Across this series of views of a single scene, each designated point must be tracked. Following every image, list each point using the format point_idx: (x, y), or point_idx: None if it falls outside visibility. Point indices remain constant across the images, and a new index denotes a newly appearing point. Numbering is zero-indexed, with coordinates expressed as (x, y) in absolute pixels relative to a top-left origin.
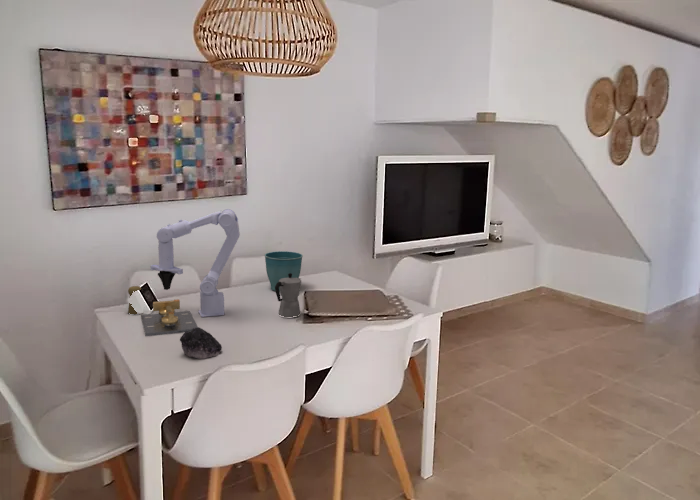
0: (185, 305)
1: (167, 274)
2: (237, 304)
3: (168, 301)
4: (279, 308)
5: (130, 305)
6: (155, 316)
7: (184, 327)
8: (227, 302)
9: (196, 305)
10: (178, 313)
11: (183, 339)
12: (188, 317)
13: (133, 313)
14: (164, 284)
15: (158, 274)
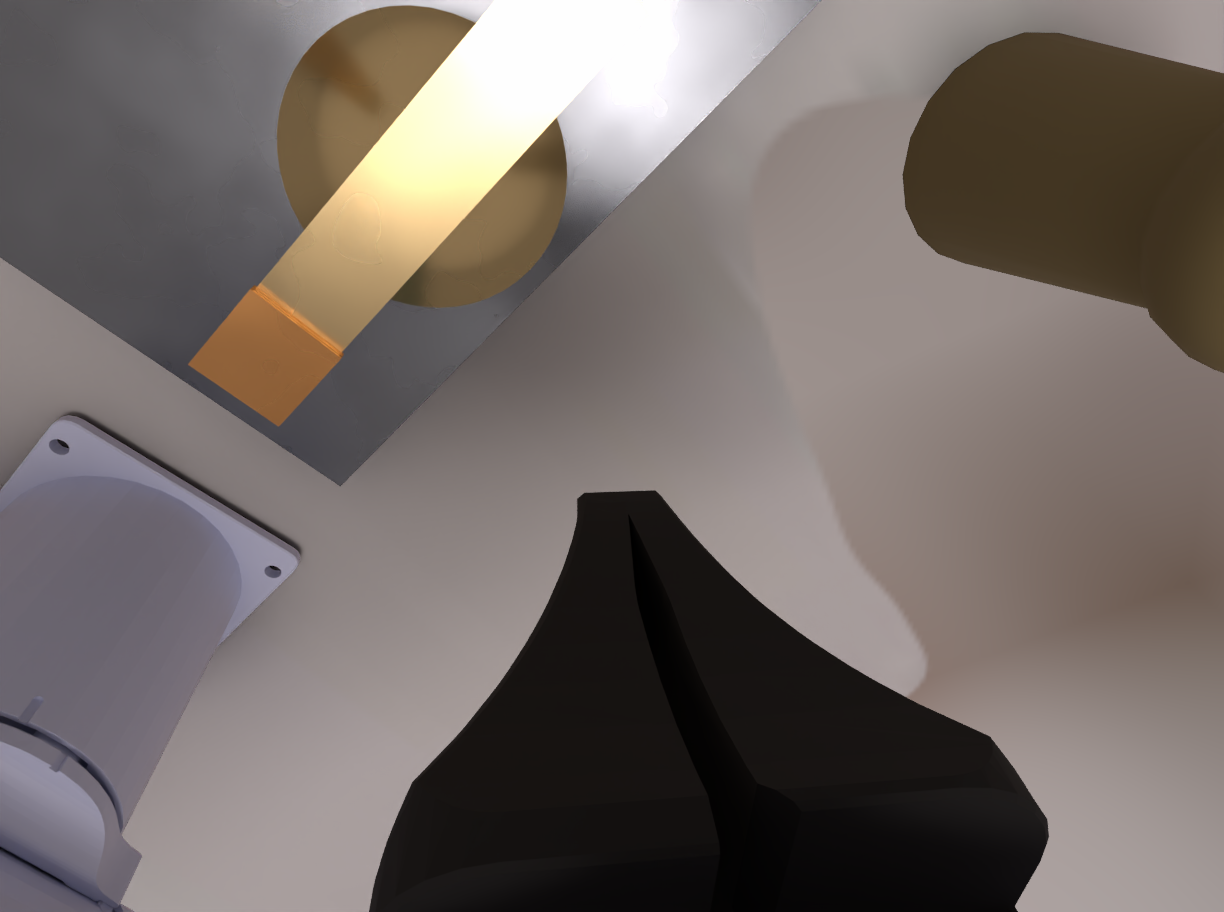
0: None
1: (393, 898)
2: (168, 850)
3: (370, 230)
4: None
5: (1155, 57)
6: None
7: None
8: (297, 844)
9: (488, 677)
10: (378, 332)
11: None
12: (96, 252)
13: (1010, 46)
14: (647, 561)
15: (957, 761)
